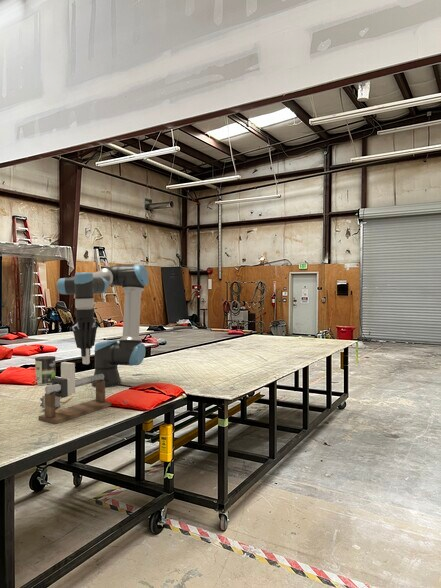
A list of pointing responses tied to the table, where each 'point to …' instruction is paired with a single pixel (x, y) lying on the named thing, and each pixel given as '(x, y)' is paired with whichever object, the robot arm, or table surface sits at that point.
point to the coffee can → (45, 369)
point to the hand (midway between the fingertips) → (86, 363)
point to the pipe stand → (74, 410)
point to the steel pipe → (78, 383)
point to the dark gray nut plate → (63, 386)
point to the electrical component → (57, 401)
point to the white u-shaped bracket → (69, 375)
